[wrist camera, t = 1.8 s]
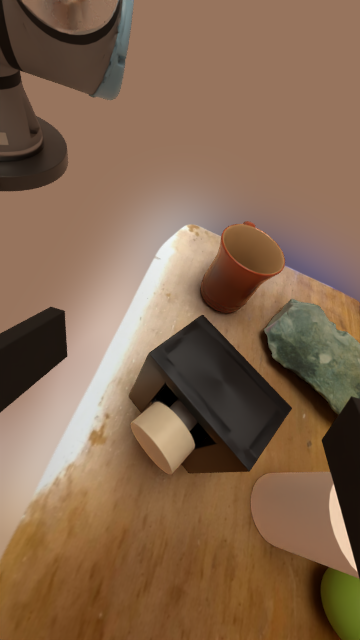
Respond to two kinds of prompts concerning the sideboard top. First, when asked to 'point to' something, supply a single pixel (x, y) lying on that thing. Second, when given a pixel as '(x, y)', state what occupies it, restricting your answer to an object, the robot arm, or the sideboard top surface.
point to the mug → (240, 267)
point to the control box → (213, 397)
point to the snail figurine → (342, 603)
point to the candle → (303, 517)
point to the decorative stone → (316, 351)
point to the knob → (165, 434)
